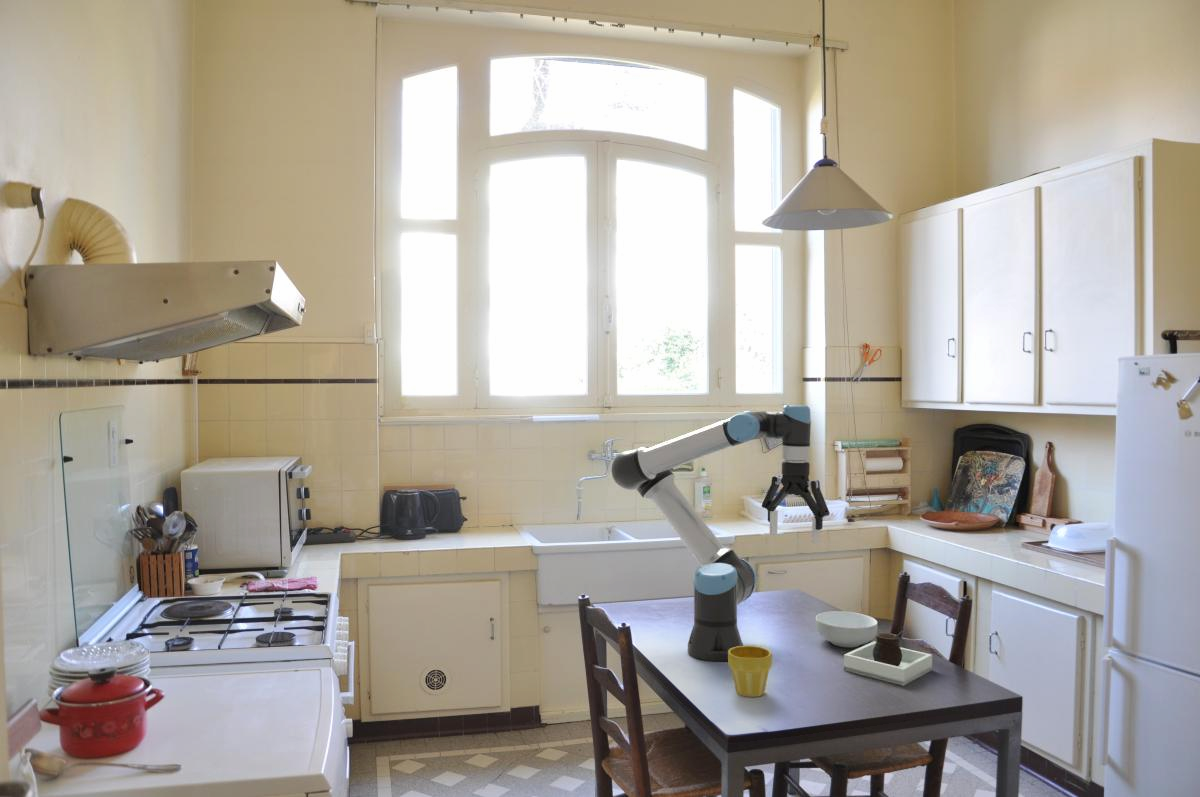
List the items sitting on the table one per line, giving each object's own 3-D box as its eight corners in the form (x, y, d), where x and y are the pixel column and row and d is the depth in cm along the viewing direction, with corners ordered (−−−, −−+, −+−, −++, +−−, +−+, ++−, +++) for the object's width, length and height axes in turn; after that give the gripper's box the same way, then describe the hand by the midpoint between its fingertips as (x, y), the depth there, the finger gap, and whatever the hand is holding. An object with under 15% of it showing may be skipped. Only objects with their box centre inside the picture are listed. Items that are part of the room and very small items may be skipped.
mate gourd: (870, 660, 224) (871, 622, 223) (901, 663, 222) (902, 624, 222) (873, 669, 217) (874, 630, 216) (905, 672, 215) (905, 632, 215)
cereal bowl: (837, 655, 231) (837, 629, 231) (804, 638, 247) (804, 613, 247) (890, 649, 237) (890, 623, 237) (854, 632, 253) (854, 608, 252)
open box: (903, 685, 208) (903, 669, 208) (843, 670, 219) (843, 654, 219) (932, 670, 219) (932, 654, 219) (873, 656, 231) (874, 641, 231)
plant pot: (718, 690, 205) (718, 650, 205) (748, 681, 211) (748, 642, 211) (751, 703, 197) (751, 661, 197) (780, 693, 203) (781, 652, 203)
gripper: (843, 464, 229) (841, 542, 230) (765, 456, 247) (764, 529, 248) (828, 465, 224) (826, 546, 225) (750, 458, 242) (748, 532, 243)
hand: (794, 537), depth 236 cm, fingers open, 13 cm apart
